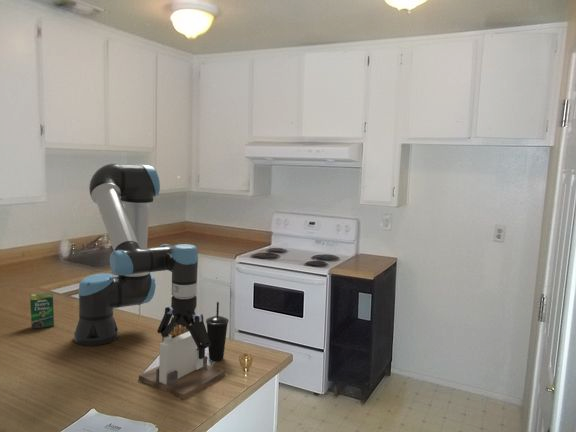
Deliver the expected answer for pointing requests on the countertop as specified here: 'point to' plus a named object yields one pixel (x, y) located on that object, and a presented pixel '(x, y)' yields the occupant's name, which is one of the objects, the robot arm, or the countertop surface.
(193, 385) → the clip board
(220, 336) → the drinking cup
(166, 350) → the door panel
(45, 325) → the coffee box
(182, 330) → the ammunition clip
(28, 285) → the countertop surface
